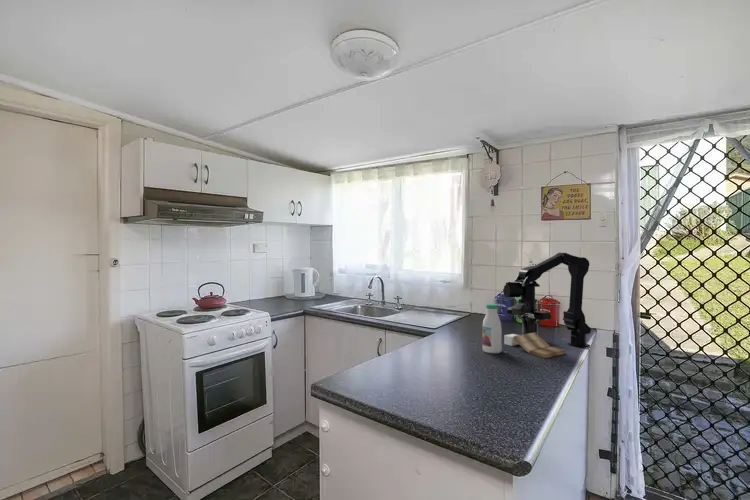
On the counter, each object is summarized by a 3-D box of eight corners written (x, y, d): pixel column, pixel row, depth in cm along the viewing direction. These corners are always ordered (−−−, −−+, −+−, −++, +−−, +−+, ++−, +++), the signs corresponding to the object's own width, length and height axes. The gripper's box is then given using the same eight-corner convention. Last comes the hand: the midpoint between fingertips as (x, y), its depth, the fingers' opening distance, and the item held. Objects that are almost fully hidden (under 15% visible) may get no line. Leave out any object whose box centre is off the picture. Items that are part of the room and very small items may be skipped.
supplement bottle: (536, 343, 163) (535, 317, 163) (520, 341, 167) (520, 315, 167) (539, 340, 168) (539, 315, 168) (524, 338, 172) (524, 313, 172)
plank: (533, 335, 160) (534, 332, 159) (548, 348, 153) (550, 346, 152) (513, 338, 154) (514, 335, 153) (528, 353, 147) (530, 350, 146)
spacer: (513, 342, 165) (513, 333, 165) (520, 344, 161) (520, 335, 161) (504, 344, 162) (504, 335, 162) (511, 346, 159) (511, 337, 158)
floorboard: (550, 349, 152) (550, 346, 152) (565, 353, 146) (565, 350, 146) (529, 353, 146) (529, 350, 146) (544, 358, 140) (544, 354, 140)
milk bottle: (499, 348, 154) (498, 303, 154) (503, 354, 146) (503, 305, 146) (480, 348, 154) (480, 302, 154) (484, 353, 147) (484, 305, 147)
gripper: (498, 295, 159) (498, 330, 159) (534, 301, 143) (534, 339, 143) (515, 294, 165) (515, 327, 165) (551, 299, 148) (552, 336, 148)
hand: (528, 332), depth 155 cm, fingers closed
